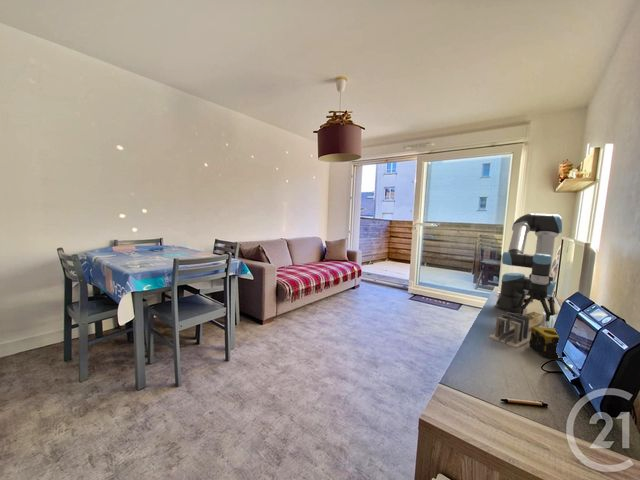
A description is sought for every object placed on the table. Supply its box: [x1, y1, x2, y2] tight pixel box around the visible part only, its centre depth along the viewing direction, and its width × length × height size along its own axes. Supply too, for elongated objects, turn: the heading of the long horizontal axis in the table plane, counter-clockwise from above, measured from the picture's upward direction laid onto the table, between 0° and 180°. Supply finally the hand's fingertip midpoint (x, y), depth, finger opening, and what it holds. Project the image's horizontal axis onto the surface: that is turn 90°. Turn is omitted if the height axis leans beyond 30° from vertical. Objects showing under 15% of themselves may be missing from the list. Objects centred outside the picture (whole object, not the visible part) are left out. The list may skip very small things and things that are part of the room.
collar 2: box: [504, 311, 530, 339], centre depth 137 cm, size 1×10×11 cm, turn 33°
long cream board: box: [489, 322, 548, 349], centre depth 141 cm, size 40×12×3 cm, turn 123°
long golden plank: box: [513, 311, 544, 330], centre depth 145 cm, size 22×4×4 cm, turn 123°
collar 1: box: [500, 313, 524, 342], centre depth 134 cm, size 1×10×11 cm, turn 33°
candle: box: [528, 327, 559, 359], centre depth 121 cm, size 10×10×10 cm
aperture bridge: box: [494, 316, 521, 344], centre depth 132 cm, size 2×9×10 cm, turn 33°
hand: (533, 323), depth 149 cm, fingers open, 9 cm apart
